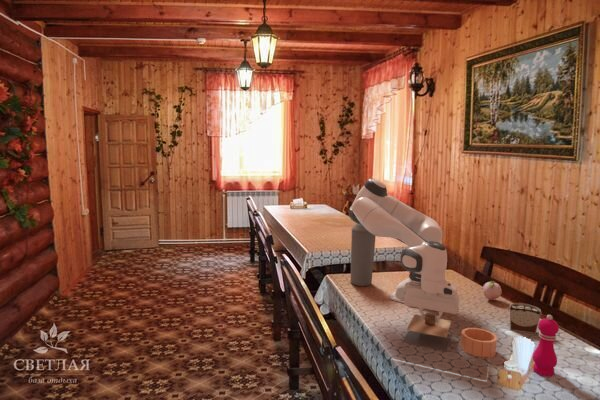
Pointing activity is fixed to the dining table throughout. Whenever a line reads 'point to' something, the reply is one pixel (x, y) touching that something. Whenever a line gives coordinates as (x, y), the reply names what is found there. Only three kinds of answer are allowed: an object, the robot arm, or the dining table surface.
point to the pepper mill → (546, 347)
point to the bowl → (478, 342)
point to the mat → (427, 340)
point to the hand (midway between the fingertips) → (430, 320)
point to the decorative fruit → (492, 290)
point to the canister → (362, 255)
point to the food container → (524, 317)
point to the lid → (430, 325)
